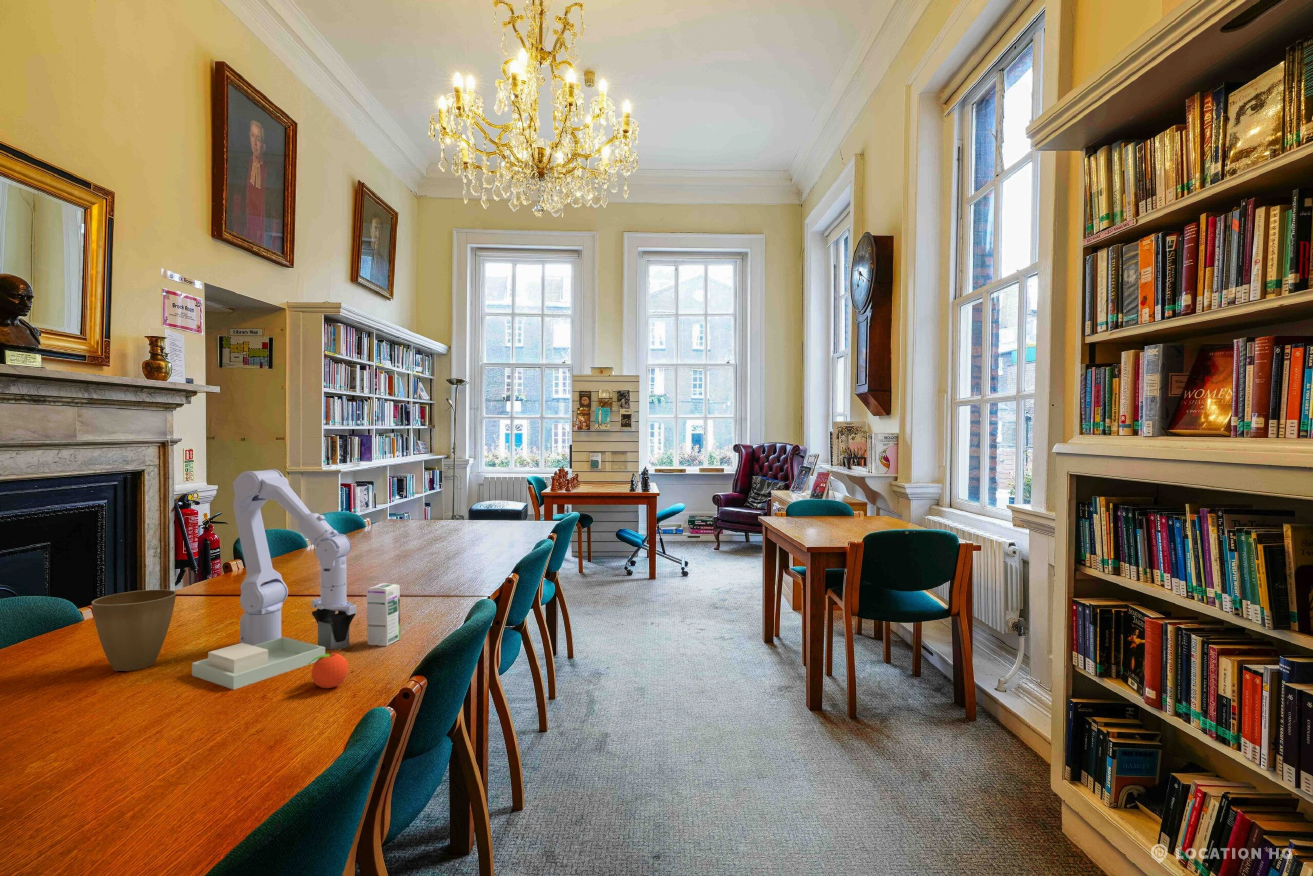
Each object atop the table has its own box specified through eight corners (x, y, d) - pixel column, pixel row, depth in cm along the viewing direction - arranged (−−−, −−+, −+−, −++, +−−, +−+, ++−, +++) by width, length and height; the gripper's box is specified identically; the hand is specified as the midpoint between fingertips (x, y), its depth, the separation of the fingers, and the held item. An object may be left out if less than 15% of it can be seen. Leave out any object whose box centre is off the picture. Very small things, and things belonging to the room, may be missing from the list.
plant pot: (158, 674, 138) (158, 602, 138) (76, 682, 134) (75, 607, 134) (187, 652, 152) (187, 586, 152) (114, 658, 148) (114, 590, 148)
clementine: (304, 697, 126) (304, 662, 126) (306, 685, 132) (306, 651, 132) (349, 690, 130) (349, 655, 130) (348, 678, 136) (348, 645, 136)
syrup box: (387, 646, 156) (387, 588, 156) (366, 645, 158) (366, 587, 158) (400, 639, 162) (400, 583, 162) (380, 637, 163) (380, 582, 163)
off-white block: (208, 675, 136) (208, 652, 136) (242, 664, 142) (242, 642, 142) (234, 683, 131) (234, 660, 131) (268, 672, 137) (268, 649, 137)
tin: (317, 649, 154) (317, 621, 154) (336, 643, 159) (336, 616, 159) (330, 653, 152) (330, 624, 152) (349, 647, 156) (349, 619, 156)
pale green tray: (192, 679, 136) (192, 662, 136) (283, 651, 153) (283, 636, 153) (233, 693, 128) (233, 676, 128) (325, 662, 146) (325, 647, 146)
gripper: (300, 584, 155) (300, 639, 155) (337, 591, 148) (337, 649, 148) (326, 579, 161) (326, 631, 161) (363, 585, 154) (364, 640, 154)
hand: (333, 639), depth 155 cm, fingers closed on tin, 5 cm apart
